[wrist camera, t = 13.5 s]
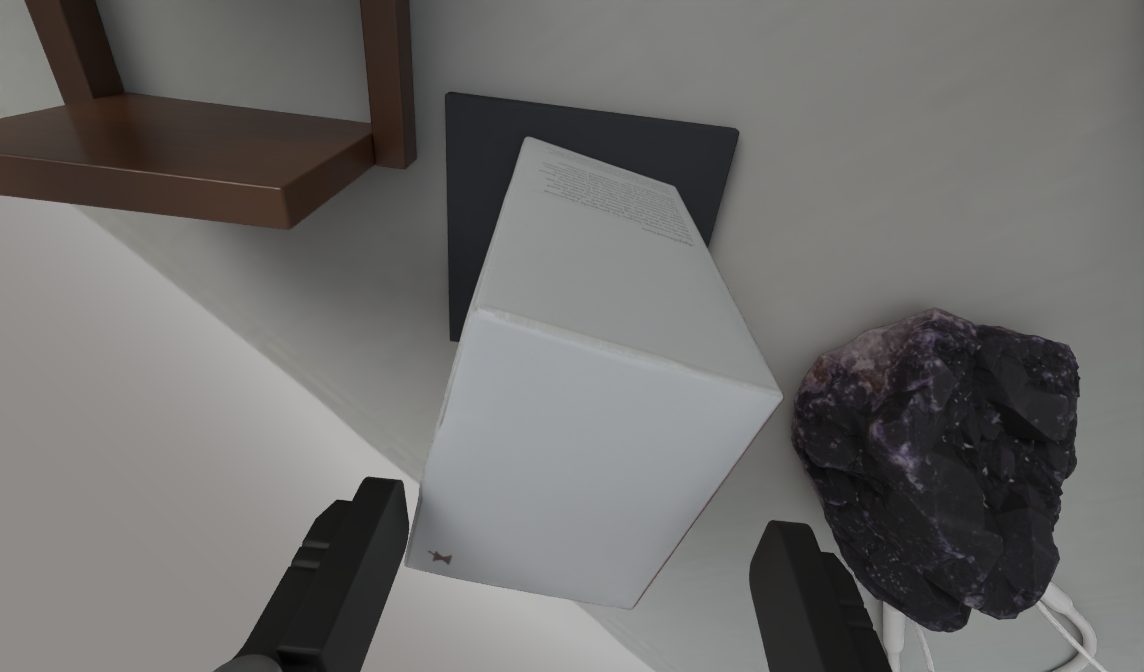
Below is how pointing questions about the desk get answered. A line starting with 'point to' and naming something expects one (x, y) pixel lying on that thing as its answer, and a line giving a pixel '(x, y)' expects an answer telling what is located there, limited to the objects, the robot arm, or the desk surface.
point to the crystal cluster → (942, 462)
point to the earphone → (1051, 597)
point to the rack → (199, 133)
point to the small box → (587, 390)
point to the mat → (635, 143)
